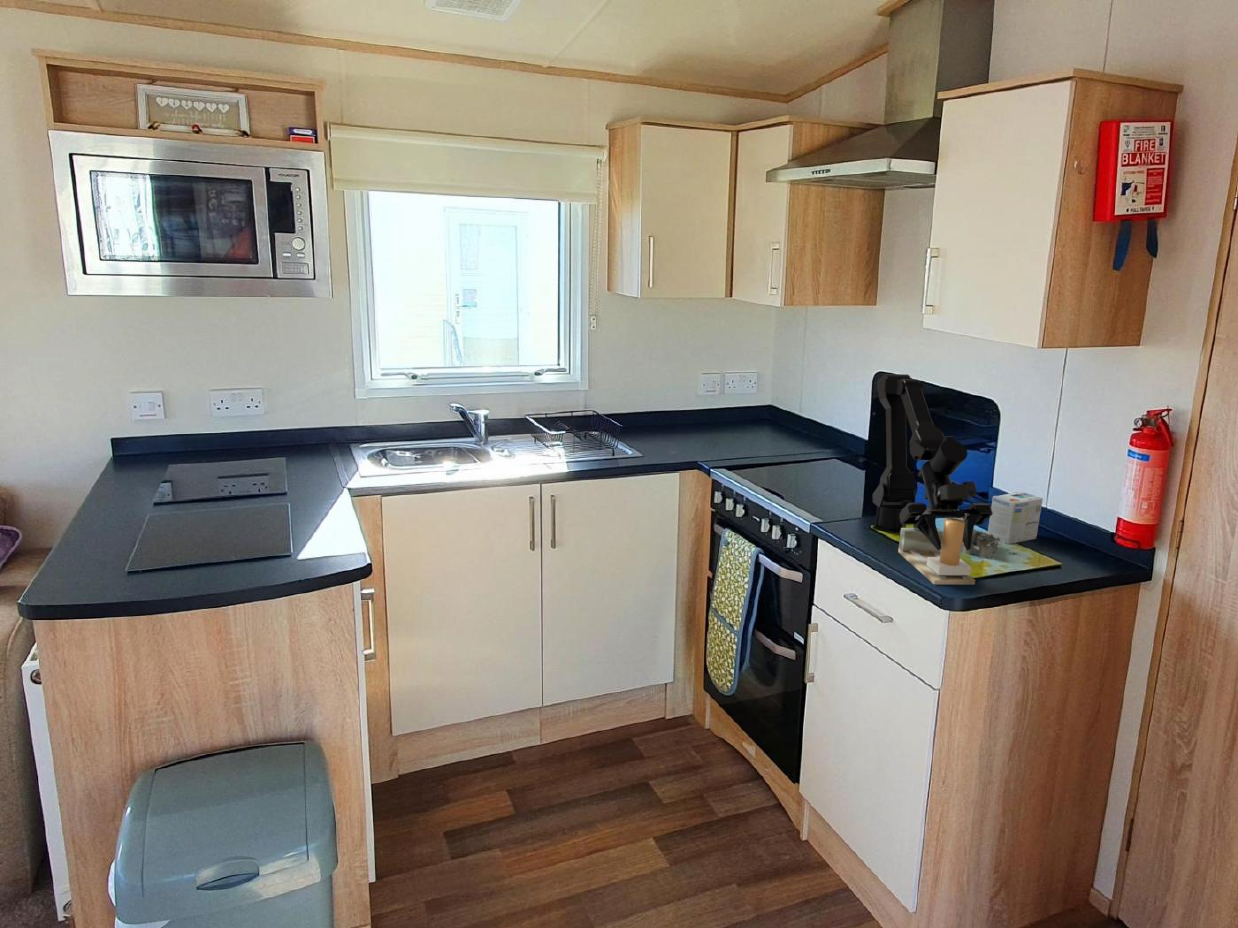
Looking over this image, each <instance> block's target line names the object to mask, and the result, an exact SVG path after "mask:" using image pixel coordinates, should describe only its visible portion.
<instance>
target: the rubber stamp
mask: <svg viewBox="0 0 1238 928" xmlns="http://www.w3.org/2000/svg"><path fill="white" fill-rule="evenodd" d="M964 526H965V522H964V521H963V520H960V518H944V525H943V530H942V531H943V536H942V543H941V551H940V552H941V553H940V557H928V558H927V566H929V567H930V568H931V569H932V570H933V571H934V572H936V573H937V574H938V575H970V576H971V573H972V567H971V566H970V564H968V563H967V562H965V561H964V560H963V559H961V553H962V551H961V547H962V540H963V533H964Z"/></svg>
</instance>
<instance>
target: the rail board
mask: <svg viewBox="0 0 1238 928" xmlns="http://www.w3.org/2000/svg"><path fill="white" fill-rule="evenodd" d="M936 528H937V531H938V535H939V538H940V542H941V544H942V538H943V531H944V530H942V529H941V528H939V527H936ZM899 533H900V535H899V543H898V551H897V552H898V553H899V554H900V555H901V556H902V557H903V558H904V559H905V560H906V561H907V562H908V563H910V565H912V566H913V567H914V568H915V569H916V570H917V571H918V572H920V573H921V574H922V575H923V576H924V577H925V578H926V579H928V580H929V581H930V582H931V583H932V584H933V585H975V584H976V579H975V578H973V577H972V576H971V574H970V575H938V574H937V573H936V572H934V571H933V570H932V569H931V568H930V567H929V566H927V558H928V557H940V553H941V549H940V550H937V549H936V548H935V546H934V545H933V544H932V543H931V542H930V540H929V539H928V538H927V537H926V536H925V535H924V534H923V533H922V532H921V531H920V530H919V529H918V528H914V527H906V528H901V531H900V532H899Z"/></svg>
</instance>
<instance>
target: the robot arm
mask: <svg viewBox="0 0 1238 928" xmlns="http://www.w3.org/2000/svg"><path fill="white" fill-rule="evenodd" d="M876 390H877V392H878V400H879V402H880V403H881V404H882V405H881V406H882V407H883V408H884V410H885V430H886V431H885V435H886V436H885V437H886V439H885V440H886V441H885V443H886V444H885V445H886V447H885V448H886V449H885V450H886V452H885V453H886V467H885V469H884V471H883V473H882V474H881V476H880V478H879V479H880V480H879V484H878V486H877V487H876V488H875V490H874V492H872V503H873V504H874V505H875V506H876V516H875V517H876V518H875V524H874V525H872V528H873V529H875V530H879V531H884V532H887V533H892V534H899V533H901V528H907V526H909V525H910V526H913V527H912V528H918V529H919V530H920V531H921V532H922V533H923V534H924V535H925V536H926V537H927V538H928V539H929V540H930V542H931V543H932V544H933V545H934V546H935V548H936V549H937V550H940V549H941V545H942V543H941V542H940V538H939V535H938V531H937V528H938V527H937V525H936V523H937V522H936V521H937V519H938V518H939V519H940V518H941V519H947V518H955V519H960V520H963V521H964V522H965V526H964V533H963V543H964V546H965V548H966V550H970V548H971V541H972V534H973V529H974V527H975V526H982V525H984V524H985V522H987V521H988V520H989V519H990V516H991V515H992V514H993V512H992V508H991V507H992V505H990V504H989V503H986V502H980V503H977V502H972V503H970V505H969V506H968V507H966V508H959V507H962V506H963V504H964V501H969V500H970V498H972V497H975V496H976V495H977V486H976V484H975V482H974V481H970V480H969V481H967V480H966V481H964V482H962V484H961V483H959V484H956V483H955V482H953V483H952V479H951V475H953V474H954V473H955V472H956V471H957V470H958V469H959V467H960V466H961V465H962V464H963V463H964V461H966V459H967V457H968V450H967V448H966V447H965V446H964V445H963V444H962V443H961V442H959V441H957V440H956V438H955V436H953V435H952V436H951V435H950V436H948V435H946V436H944V433H943V432H942V430H941V429H939V428H938V427H937V426H936V425H935V424H934V422H933V420H932V417H931V413H930V410H929V408H928V404H927V401H926V398H925V396H924V393H923V383H922V381H921V380H919V379H916V378H915V379H914V378H912V377H911V375H909V374H902V373H901V374H895V373H894V374H893V373H884V374H882V375H881V377H879V378H878V379H877V382H876ZM907 419H908V424H909V426H910V430H911V434H912V435H911V438H910V440H909V442H908V443H909V452H910V455H911V456H912V458H913V460H914V461H919V462H920V461H921V462H923V461H924V463H923V465H921V467H920V469H919V472H918V475H917V476H918V477H919V478H922V480H923V485H924V490H925V493H924V494H923V497H924V500H927V502H928V506H927V503H924V502H915V498H916V495H917V487H916V481H915V480H916V476H915V473H914V472H911V470H910V469H909V468H908V465H907V462H908V461H907V460H908V459H907V458H908V456H907V452H908V451H907V448H908V447H907Z"/></svg>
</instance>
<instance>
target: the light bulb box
mask: <svg viewBox="0 0 1238 928" xmlns="http://www.w3.org/2000/svg"><path fill="white" fill-rule="evenodd" d="M1042 505H1043V497H1040V496H1037V495H1033V494H1030V493H1026V492H1024V491H1017V492H1011V493H1006V494H1001V495H993V496H992V500H991V508H992V512H993V514H992V515H991V516H990V517H989V521H988V529H987V534H992V535H993V537H995V538H997V537H1000V542H1001V543H1004V544H1006V545H1011V544H1014V543H1019V542H1020V543H1021V542H1026V541H1031V540H1036V539H1037V535H1038V529H1039V525H1040V516H1041V511H1042Z"/></svg>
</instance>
